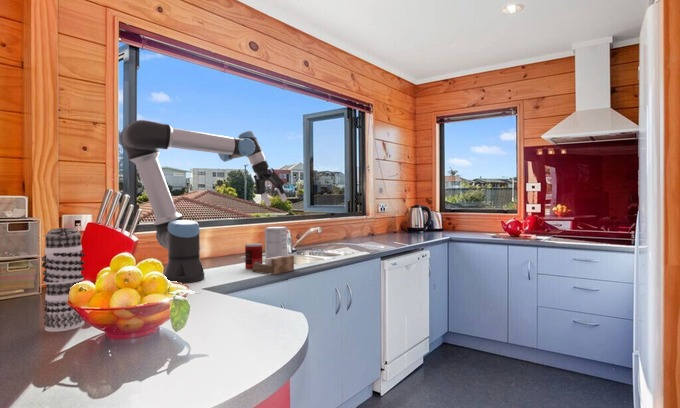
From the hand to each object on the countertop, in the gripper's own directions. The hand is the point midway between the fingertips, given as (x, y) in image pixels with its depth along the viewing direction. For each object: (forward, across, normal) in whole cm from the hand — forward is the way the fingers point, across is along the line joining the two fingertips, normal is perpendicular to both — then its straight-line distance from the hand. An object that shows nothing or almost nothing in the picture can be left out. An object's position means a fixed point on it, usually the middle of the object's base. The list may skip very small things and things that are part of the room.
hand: (276, 203), depth 197 cm
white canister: (+29, +20, +1) cm, 35 cm away
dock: (+25, -7, +22) cm, 34 cm away
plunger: (+25, -7, +22) cm, 34 cm away
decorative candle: (0, -35, +100) cm, 106 cm away
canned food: (+23, +4, +24) cm, 33 cm away
